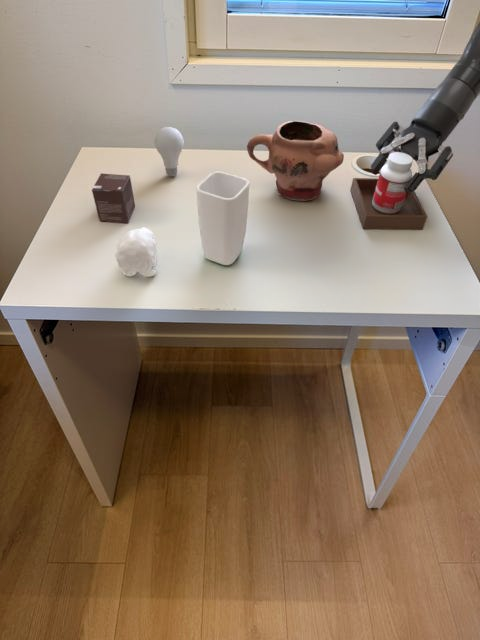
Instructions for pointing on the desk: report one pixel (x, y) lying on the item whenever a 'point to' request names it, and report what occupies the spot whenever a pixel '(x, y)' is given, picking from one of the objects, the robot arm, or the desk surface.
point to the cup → (222, 215)
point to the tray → (370, 218)
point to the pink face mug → (299, 158)
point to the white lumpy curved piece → (137, 252)
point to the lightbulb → (169, 148)
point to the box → (114, 197)
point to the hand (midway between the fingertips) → (389, 182)
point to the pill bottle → (392, 183)
